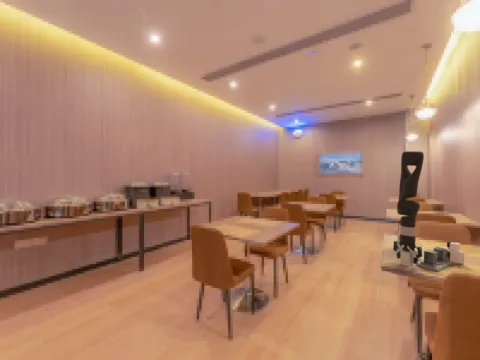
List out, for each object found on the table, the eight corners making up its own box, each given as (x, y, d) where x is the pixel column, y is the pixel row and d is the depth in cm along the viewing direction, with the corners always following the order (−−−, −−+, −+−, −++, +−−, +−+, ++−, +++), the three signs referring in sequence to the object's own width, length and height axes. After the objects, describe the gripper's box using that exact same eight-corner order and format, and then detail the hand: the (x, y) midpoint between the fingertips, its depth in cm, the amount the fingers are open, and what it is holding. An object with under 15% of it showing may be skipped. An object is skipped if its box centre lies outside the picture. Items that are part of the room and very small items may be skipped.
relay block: (411, 260, 139) (411, 251, 139) (412, 258, 142) (412, 249, 142) (419, 262, 136) (419, 253, 136) (420, 260, 139) (420, 251, 139)
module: (400, 264, 134) (400, 250, 134) (404, 262, 136) (405, 249, 136) (408, 266, 130) (409, 252, 130) (413, 265, 132) (413, 251, 132)
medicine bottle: (442, 258, 142) (443, 240, 142) (456, 259, 140) (457, 241, 140) (449, 262, 136) (450, 243, 135) (464, 264, 134) (464, 244, 133)
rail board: (415, 265, 132) (416, 250, 132) (433, 258, 143) (433, 244, 142) (437, 271, 123) (437, 255, 123) (453, 264, 134) (454, 249, 134)
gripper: (391, 231, 137) (390, 258, 137) (418, 237, 124) (417, 266, 125) (397, 230, 140) (397, 256, 141) (425, 236, 128) (424, 264, 128)
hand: (406, 260), depth 133 cm, fingers open, 8 cm apart
